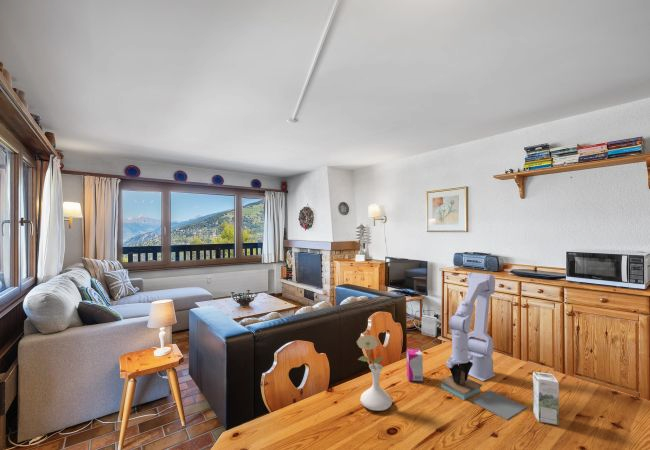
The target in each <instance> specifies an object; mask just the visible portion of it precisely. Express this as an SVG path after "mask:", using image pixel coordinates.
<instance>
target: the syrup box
mask: <svg viewBox="0 0 650 450" xmlns="http://www.w3.org/2000/svg"><path fill="white" fill-rule="evenodd" d="M559 392H560V382H559V381H558V380H557V378H556V377H555V375H554V374H552V373H546V372H539V371H533V372H532V413H533V415H534V416H535V418H536V420H537V422H538V423H542V424H547V425H554V426H559V425H560V423H559V422H560V421H559V420H560V418H559V416H560V413H559V412H560V409H559V405H560V402H559V400H560V393H559Z"/></svg>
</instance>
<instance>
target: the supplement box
mask: <svg viewBox="0 0 650 450" xmlns="http://www.w3.org/2000/svg"><path fill="white" fill-rule="evenodd" d="M423 364H424V363H423V353H422V352H421V350H420V349H413V348H412V349H410V348H409V349H408V348H407V349H406V376H407V379H408V381H409V383H423V382H424V370H423V369H424V368H423V367H424V365H423Z"/></svg>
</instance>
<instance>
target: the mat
mask: <svg viewBox="0 0 650 450" xmlns="http://www.w3.org/2000/svg"><path fill="white" fill-rule="evenodd" d="M470 402H471V403H473V404H475V405H477V406H479V407H481V408H483V409H484V410H486V411H489V412H491V413H492V414H495V416H498V417H500V418H502V419H504V420H506V421H509V420H510V419H511V418H513V417H515V416H516V415H518V414H519V413H521V412H523V411H525V410H526V409H528V408H527V406H526V405H523V404H521V403H519V402H517V401H515V400H512V399H511V398H508V397H506V396H504V395H502V394H500V393H497V392H495V391H493V390H490V389H489V390H488V391H486V392H484V393H481V394H480V395H477V396H476V397H474V398H472V399H470Z"/></svg>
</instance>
